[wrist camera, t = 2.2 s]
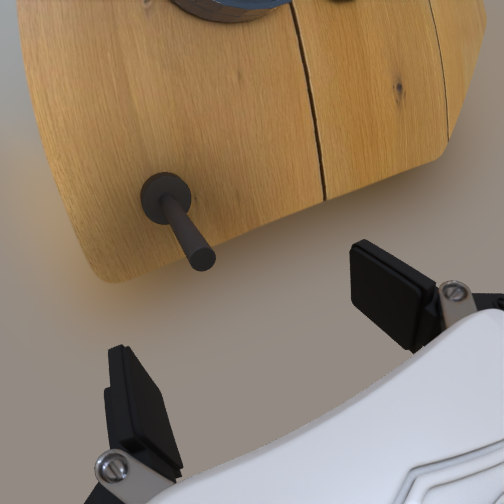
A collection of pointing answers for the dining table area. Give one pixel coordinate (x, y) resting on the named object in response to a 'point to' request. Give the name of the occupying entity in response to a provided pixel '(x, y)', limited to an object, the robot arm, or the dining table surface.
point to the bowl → (230, 8)
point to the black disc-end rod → (176, 216)
